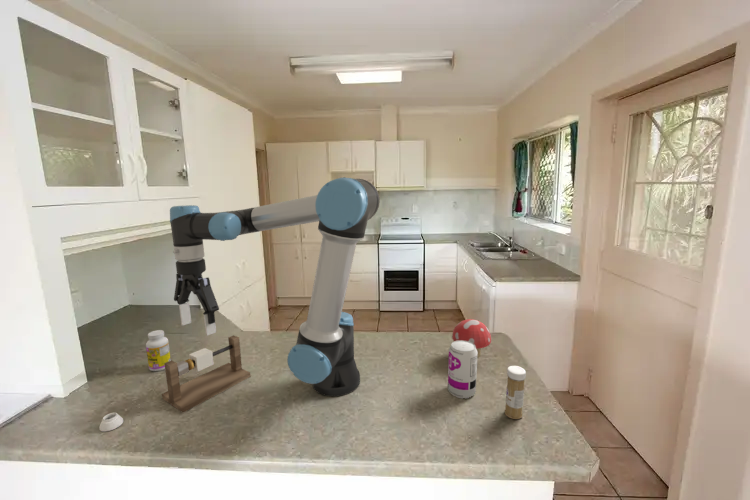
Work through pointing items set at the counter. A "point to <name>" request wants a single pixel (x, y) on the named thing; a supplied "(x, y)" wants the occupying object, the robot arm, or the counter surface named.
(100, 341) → the counter surface
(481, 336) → the decorative mushroom
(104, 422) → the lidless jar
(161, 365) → the supplement bottle
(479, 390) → the counter surface
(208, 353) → the sleeve
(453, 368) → the supplement can
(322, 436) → the counter surface
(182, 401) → the brown stand with rod
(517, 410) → the sprinkles bottle
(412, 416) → the counter surface
